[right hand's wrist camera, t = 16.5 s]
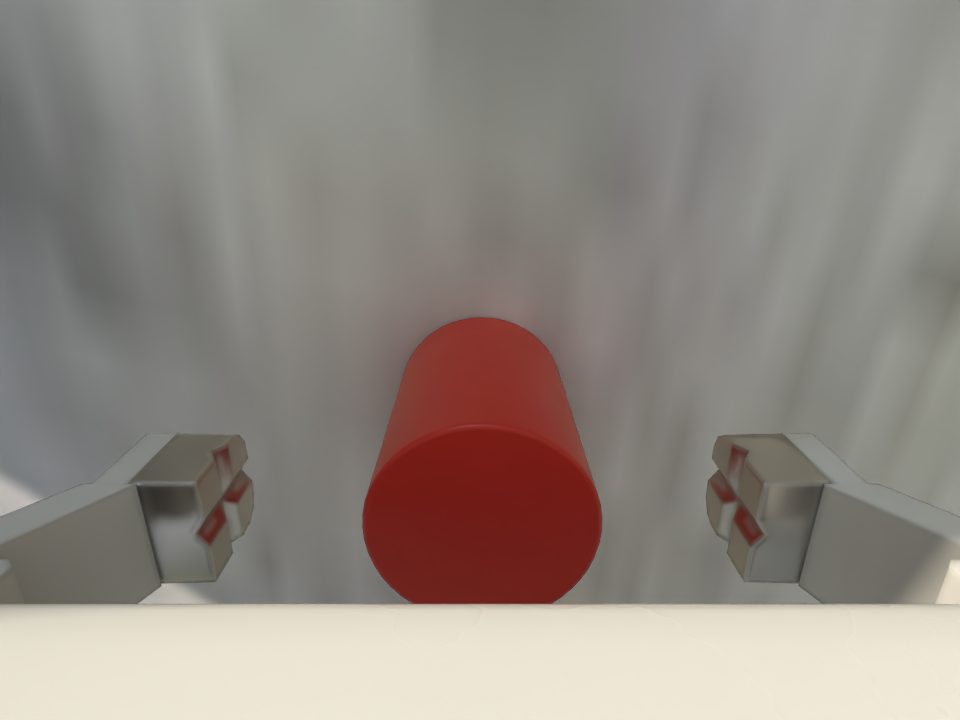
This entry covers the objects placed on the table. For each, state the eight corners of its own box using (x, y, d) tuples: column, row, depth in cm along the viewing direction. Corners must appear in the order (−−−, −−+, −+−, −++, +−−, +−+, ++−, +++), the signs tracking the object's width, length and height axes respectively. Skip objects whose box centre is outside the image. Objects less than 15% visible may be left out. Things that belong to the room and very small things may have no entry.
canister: (452, 286, 12) (435, 380, 8) (591, 366, 13) (651, 496, 8) (375, 416, 13) (320, 565, 9) (506, 484, 14) (520, 655, 9)
